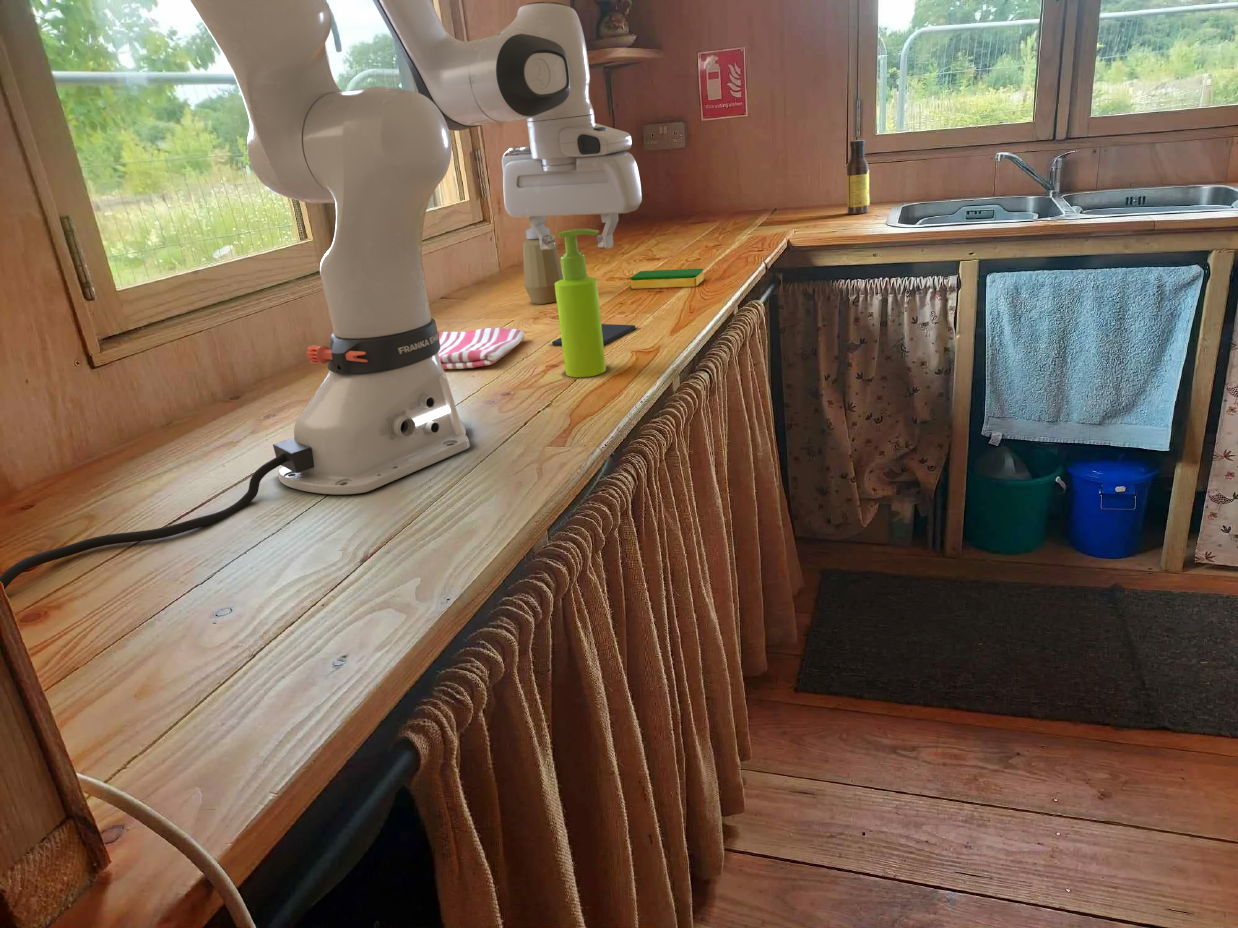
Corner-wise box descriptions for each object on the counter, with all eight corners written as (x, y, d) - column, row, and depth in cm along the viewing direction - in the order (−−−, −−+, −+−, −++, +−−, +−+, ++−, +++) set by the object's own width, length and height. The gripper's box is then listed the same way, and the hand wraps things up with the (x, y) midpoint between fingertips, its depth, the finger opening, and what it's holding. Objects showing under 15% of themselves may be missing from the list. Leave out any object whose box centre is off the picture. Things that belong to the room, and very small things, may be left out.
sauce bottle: (873, 212, 251) (874, 139, 244) (856, 215, 249) (856, 141, 241) (859, 211, 257) (860, 139, 249) (842, 213, 254) (842, 141, 247)
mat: (599, 347, 138) (598, 343, 138) (552, 345, 143) (551, 341, 142) (635, 328, 148) (635, 325, 147) (590, 327, 152) (590, 323, 152)
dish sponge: (640, 282, 186) (639, 270, 185) (704, 279, 182) (703, 268, 181) (630, 289, 180) (629, 277, 179) (696, 287, 175) (695, 275, 175)
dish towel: (398, 347, 152) (395, 327, 151) (527, 340, 147) (524, 320, 146) (355, 376, 136) (350, 354, 135) (497, 369, 132) (494, 347, 131)
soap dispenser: (608, 376, 123) (592, 231, 115) (561, 378, 124) (542, 235, 117) (616, 364, 128) (602, 225, 120) (571, 366, 130) (554, 228, 122)
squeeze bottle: (574, 297, 178) (563, 206, 171) (550, 306, 172) (538, 212, 165) (542, 296, 182) (531, 207, 175) (518, 305, 176) (505, 213, 169)
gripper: (486, 150, 117) (502, 254, 122) (617, 138, 107) (629, 252, 112) (513, 145, 122) (528, 245, 127) (642, 134, 112) (651, 243, 117)
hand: (576, 248), depth 120 cm, fingers open, 8 cm apart
